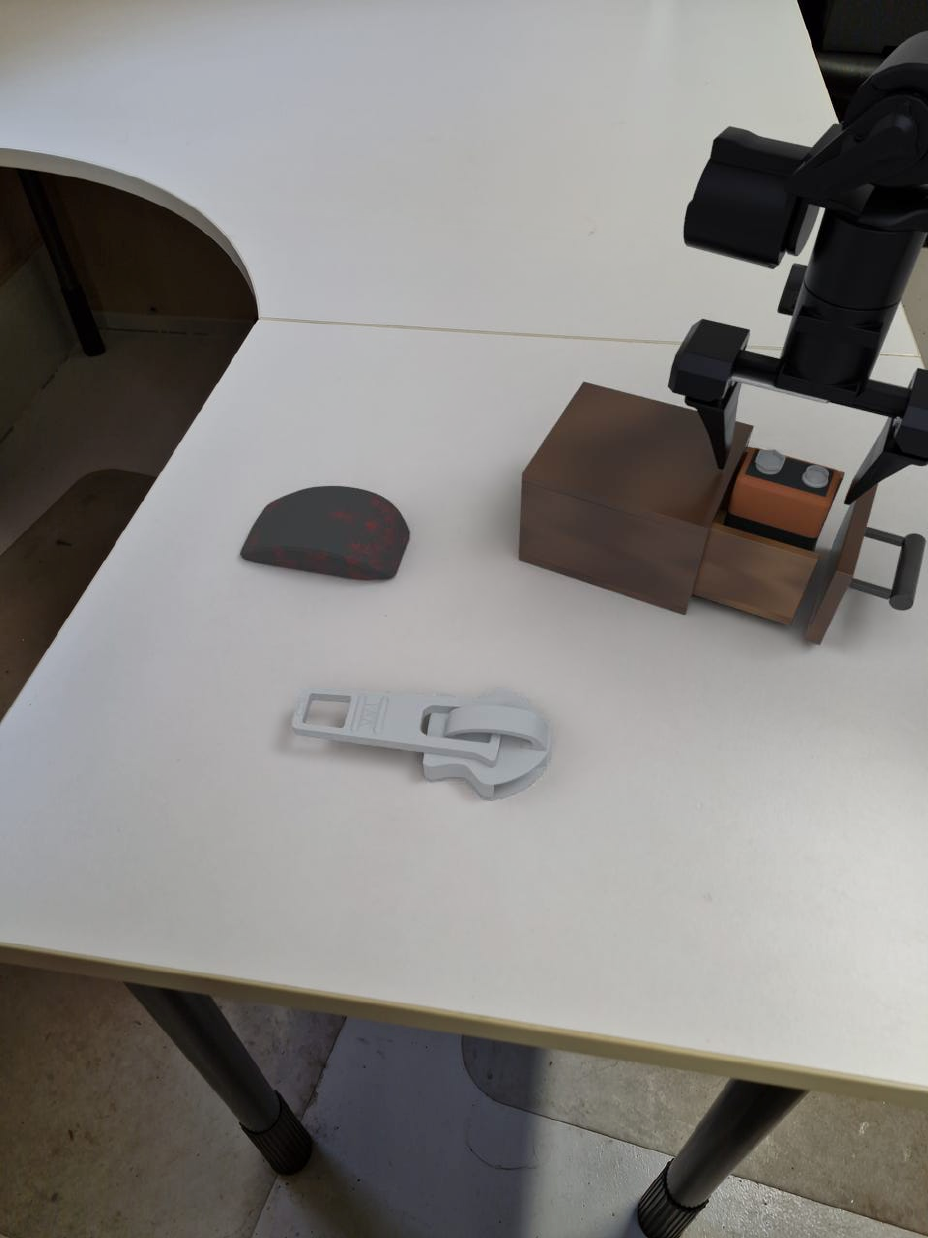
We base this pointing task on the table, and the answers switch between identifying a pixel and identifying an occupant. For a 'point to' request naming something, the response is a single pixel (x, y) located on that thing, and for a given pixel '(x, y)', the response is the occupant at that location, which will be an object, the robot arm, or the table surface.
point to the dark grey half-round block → (330, 533)
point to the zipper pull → (445, 734)
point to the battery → (781, 498)
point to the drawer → (800, 567)
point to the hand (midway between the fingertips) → (783, 483)
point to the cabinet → (625, 495)
